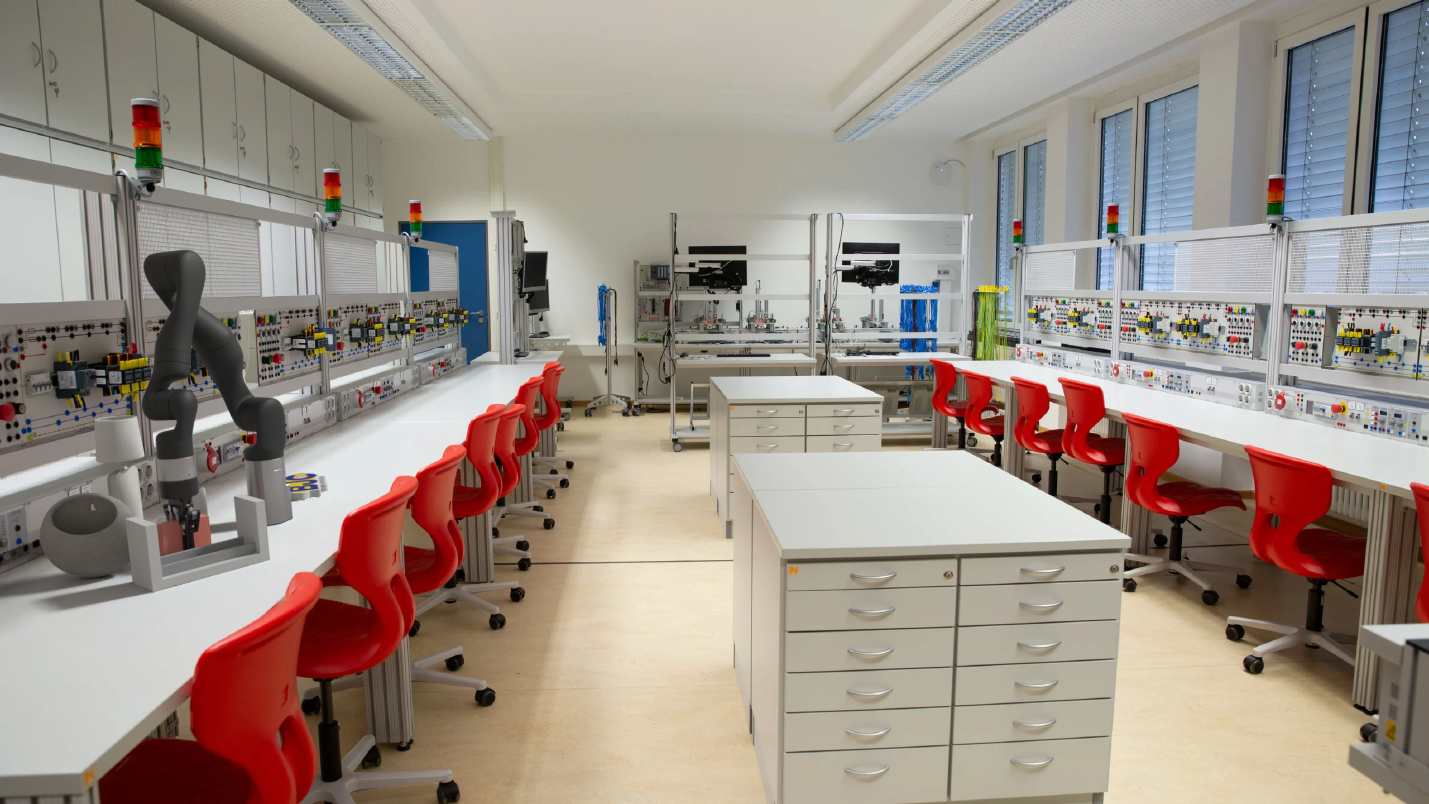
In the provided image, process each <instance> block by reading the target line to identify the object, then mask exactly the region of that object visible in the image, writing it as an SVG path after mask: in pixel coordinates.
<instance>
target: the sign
mask: <svg viewBox="0 0 1429 804" xmlns="http://www.w3.org/2000/svg"><path fill="white" fill-rule="evenodd" d="M286 483H289V484H290V491H291V501H294V500H302V501H306V500H305V499H307V498H309V499H312V498H311V497H316V498H321V497H322V493H325V492H324V491H326V492H328V491H329V488H328V481H327V476H326V475H319V474H318V473H315V472H295V473H292V474H289V475H286ZM320 496H321V497H320ZM307 500H308V499H307Z"/></svg>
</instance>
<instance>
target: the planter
mask: <svg viewBox="0 0 1429 804" xmlns="http://www.w3.org/2000/svg"><path fill="white" fill-rule="evenodd" d="M92 505H93V508H94V509H95V510H92V509H91V508H92ZM131 517H136V516H135V515H134V513H133V512H132V511H131V509H130V508H129V507H128V506H127V505H125V504H124V503H123V502H122V501H120V500H118V499H116V498H114V497H112V496H109V495H108V494H105V493H101V492H83V493H75V494H72V495H69V496H66V497H63V498H62V499H60V500H58V501H57V502H55V503H54V504H53V505H52V506H51V507H50V508H49V509H48V510H47V512H46V514H45V516H44V517H43V520H42V522H41V524H40V529H39V541H40V545H41V548H42V550H43V553H44V555H45V556H46V558H47V559H48V560H49V562H50V563H51V564H52V565H53V566H54V567H55V568H57V569H59V570H60V571H61V572H63V573H66V574H68V575H70V576H75V577H79V578H87V579H88V578H91V579H92V578H101V577H106V576H109V575H112V574H114V573H116V572H119V571H120V570H122V569H123V568H125V567H126V566H128V564H129V563H130V556H129V548H128V539H127V531H126V523H125V519H127V518H131Z"/></svg>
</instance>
